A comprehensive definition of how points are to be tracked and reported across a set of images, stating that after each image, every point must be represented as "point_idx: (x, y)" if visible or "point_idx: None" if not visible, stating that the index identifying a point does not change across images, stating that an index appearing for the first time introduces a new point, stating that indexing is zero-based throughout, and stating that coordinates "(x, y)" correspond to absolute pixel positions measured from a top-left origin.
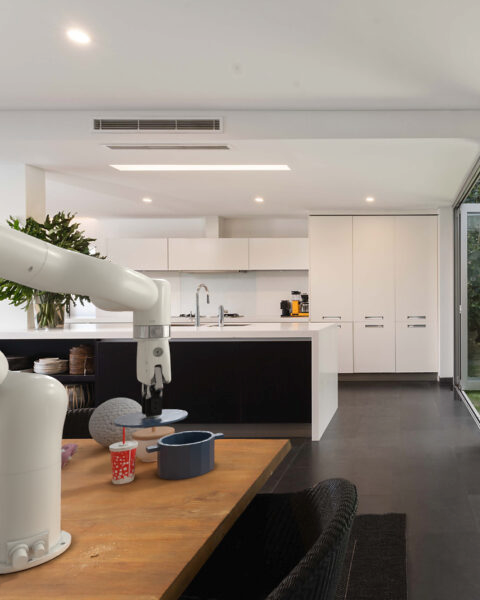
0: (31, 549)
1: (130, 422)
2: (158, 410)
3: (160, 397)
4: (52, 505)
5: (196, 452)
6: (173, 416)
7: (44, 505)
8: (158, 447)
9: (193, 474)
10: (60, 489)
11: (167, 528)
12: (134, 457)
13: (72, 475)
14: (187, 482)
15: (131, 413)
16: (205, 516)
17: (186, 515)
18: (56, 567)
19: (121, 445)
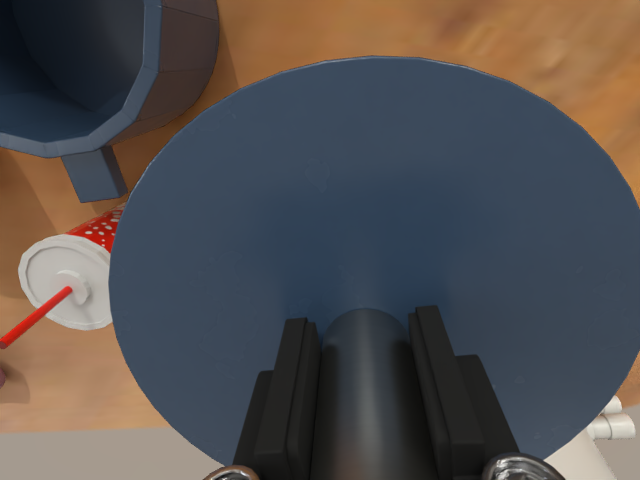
0: None
1: None
2: (480, 360)
3: (535, 468)
4: (597, 455)
5: None
6: (488, 209)
7: (614, 475)
8: (103, 155)
9: (214, 4)
10: (579, 469)
11: (613, 153)
12: (114, 229)
13: (44, 331)
14: (262, 38)
15: (170, 423)
16: (629, 32)
17: (567, 89)
18: None
19: (87, 296)
